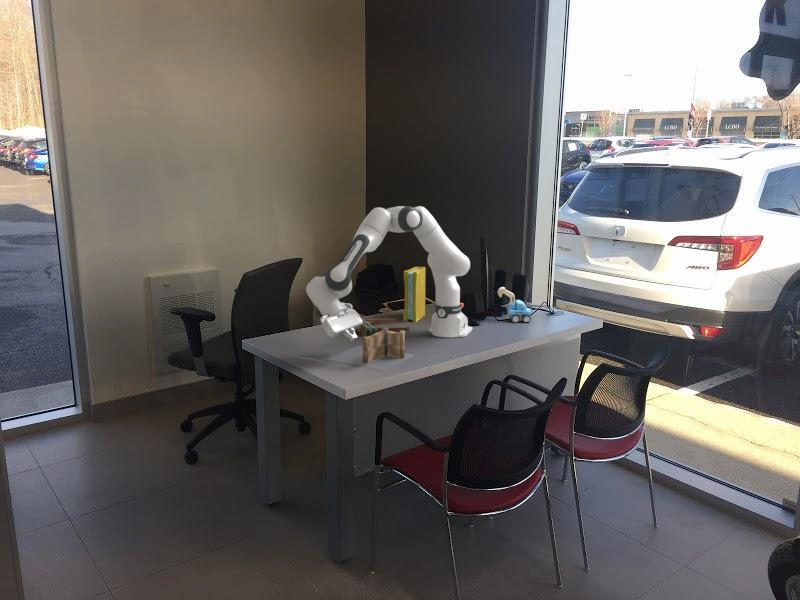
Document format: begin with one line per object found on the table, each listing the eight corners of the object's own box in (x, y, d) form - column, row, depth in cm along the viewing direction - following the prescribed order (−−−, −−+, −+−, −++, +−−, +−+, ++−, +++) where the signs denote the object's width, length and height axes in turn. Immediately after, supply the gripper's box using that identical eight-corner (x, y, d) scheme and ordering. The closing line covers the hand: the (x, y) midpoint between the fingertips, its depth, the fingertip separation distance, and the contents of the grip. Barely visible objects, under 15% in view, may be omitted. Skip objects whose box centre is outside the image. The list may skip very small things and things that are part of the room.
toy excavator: (495, 318, 334) (497, 285, 330) (529, 319, 333) (530, 285, 330) (497, 323, 325) (499, 288, 322) (531, 323, 325) (533, 289, 321)
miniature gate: (412, 326, 305) (350, 327, 294) (411, 337, 306) (350, 339, 295) (392, 313, 330) (334, 314, 319) (391, 324, 331) (334, 325, 320)
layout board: (359, 346, 284) (359, 344, 284) (415, 356, 270) (415, 354, 270) (325, 360, 264) (325, 358, 264) (384, 371, 250) (384, 370, 250)
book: (416, 322, 326) (416, 272, 321) (403, 320, 329) (403, 271, 323) (427, 314, 342) (427, 267, 336) (415, 313, 344) (415, 266, 339)
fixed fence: (381, 354, 270) (381, 328, 268) (384, 353, 272) (384, 327, 270) (402, 358, 265) (402, 332, 262) (405, 357, 267) (405, 330, 264)
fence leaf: (381, 353, 269) (381, 329, 267) (385, 354, 268) (385, 329, 266) (361, 363, 256) (361, 337, 254) (366, 364, 255) (366, 338, 253)
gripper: (322, 312, 253) (343, 340, 250) (353, 303, 270) (373, 329, 267) (313, 322, 256) (334, 350, 253) (344, 312, 273) (364, 338, 271)
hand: (354, 339), depth 261 cm, fingers closed
